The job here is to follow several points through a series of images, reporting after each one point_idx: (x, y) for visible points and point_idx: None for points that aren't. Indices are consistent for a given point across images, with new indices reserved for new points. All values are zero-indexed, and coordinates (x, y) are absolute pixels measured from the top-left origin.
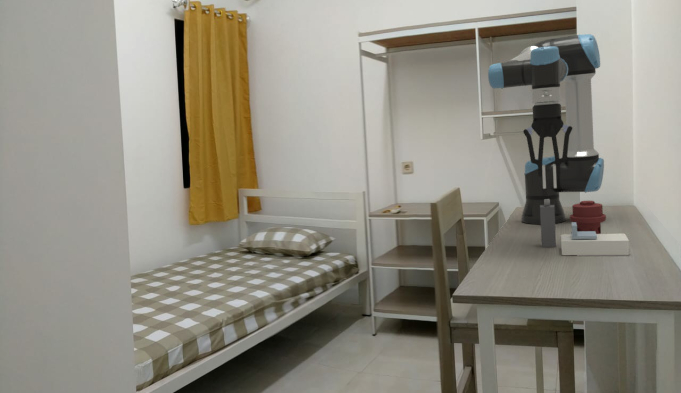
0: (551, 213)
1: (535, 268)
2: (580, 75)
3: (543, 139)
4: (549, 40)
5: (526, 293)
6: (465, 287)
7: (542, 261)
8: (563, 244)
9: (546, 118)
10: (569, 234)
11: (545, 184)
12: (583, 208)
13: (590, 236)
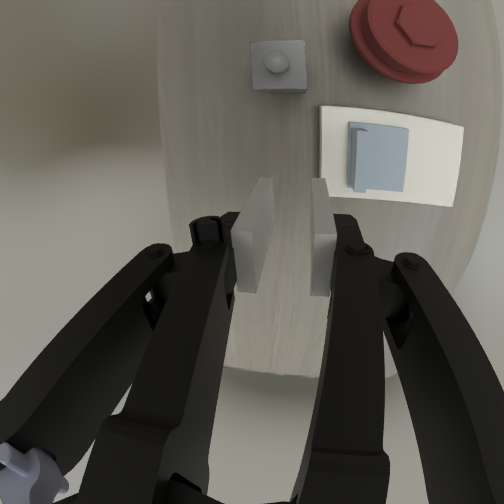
0: (296, 89)
1: (269, 278)
2: None
3: (203, 480)
4: None
5: (264, 365)
6: None
7: (279, 232)
8: None
9: None
10: (344, 108)
11: (271, 229)
12: (404, 67)
13: (389, 190)
